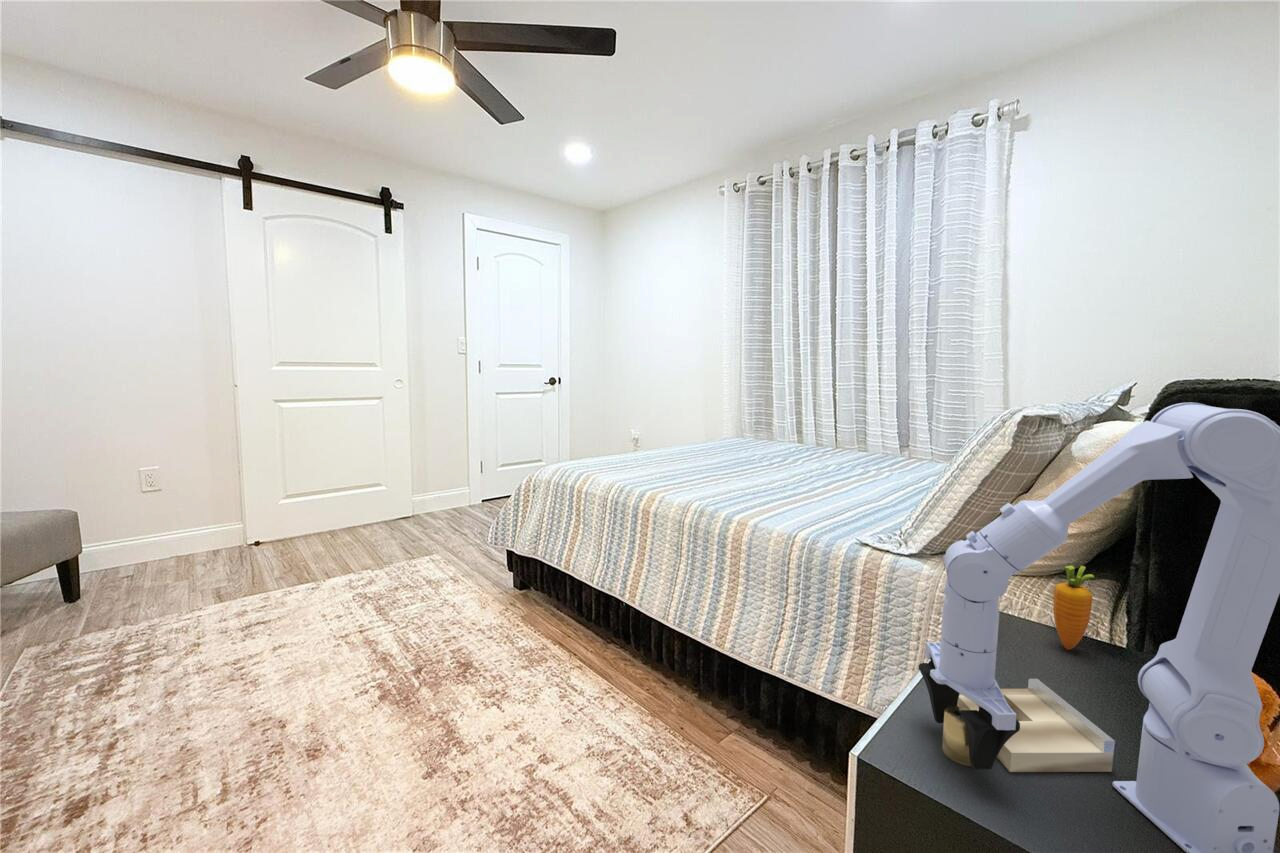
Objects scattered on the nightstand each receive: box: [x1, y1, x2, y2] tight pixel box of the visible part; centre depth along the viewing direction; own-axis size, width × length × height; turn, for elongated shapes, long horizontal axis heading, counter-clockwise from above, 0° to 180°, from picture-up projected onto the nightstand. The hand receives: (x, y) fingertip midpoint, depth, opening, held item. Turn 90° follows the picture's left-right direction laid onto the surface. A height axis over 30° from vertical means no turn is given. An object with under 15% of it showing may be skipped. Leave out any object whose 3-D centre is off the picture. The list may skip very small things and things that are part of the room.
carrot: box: [1053, 565, 1095, 651], centre depth 85 cm, size 5×5×15 cm
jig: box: [957, 678, 1116, 773], centre depth 66 cm, size 12×12×4 cm
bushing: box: [941, 706, 973, 767], centre depth 64 cm, size 4×4×5 cm
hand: (961, 742), depth 64 cm, fingers open, 7 cm apart
